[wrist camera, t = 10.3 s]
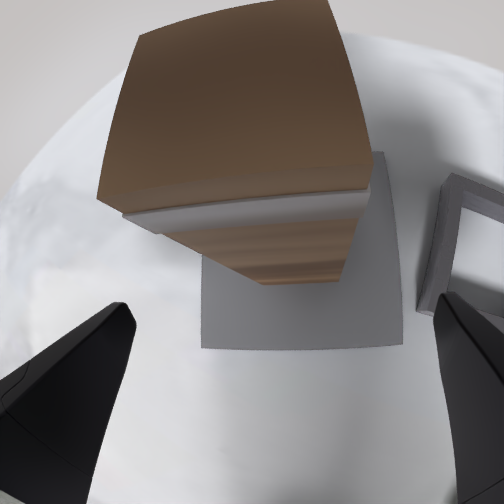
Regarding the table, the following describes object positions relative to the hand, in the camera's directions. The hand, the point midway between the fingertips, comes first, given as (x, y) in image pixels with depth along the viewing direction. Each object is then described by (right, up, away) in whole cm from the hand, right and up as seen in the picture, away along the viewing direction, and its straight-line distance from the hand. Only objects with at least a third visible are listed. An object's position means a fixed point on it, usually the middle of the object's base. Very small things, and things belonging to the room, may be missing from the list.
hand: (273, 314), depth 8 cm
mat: (+2, +2, +9) cm, 9 cm away
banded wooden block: (+2, +2, +9) cm, 9 cm away
